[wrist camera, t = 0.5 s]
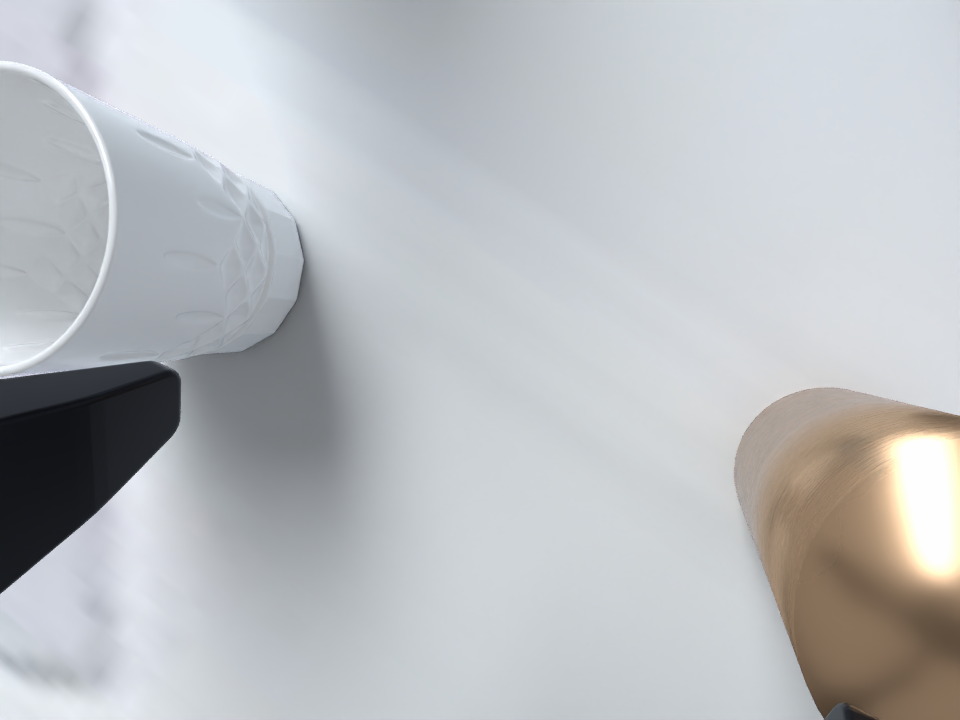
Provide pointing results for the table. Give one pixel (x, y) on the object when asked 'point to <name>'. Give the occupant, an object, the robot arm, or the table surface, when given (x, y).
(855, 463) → the can
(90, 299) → the white cup
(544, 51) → the table surface
